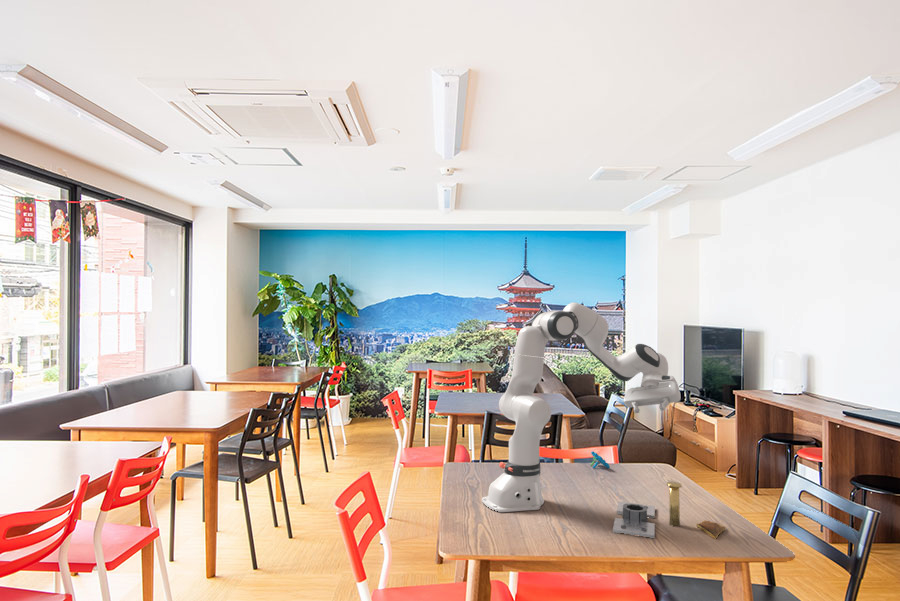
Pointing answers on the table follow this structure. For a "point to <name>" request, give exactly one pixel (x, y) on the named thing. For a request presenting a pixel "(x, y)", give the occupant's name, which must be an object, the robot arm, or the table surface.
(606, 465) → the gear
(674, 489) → the hinge pin
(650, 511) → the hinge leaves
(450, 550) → the table surface
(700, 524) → the shard
